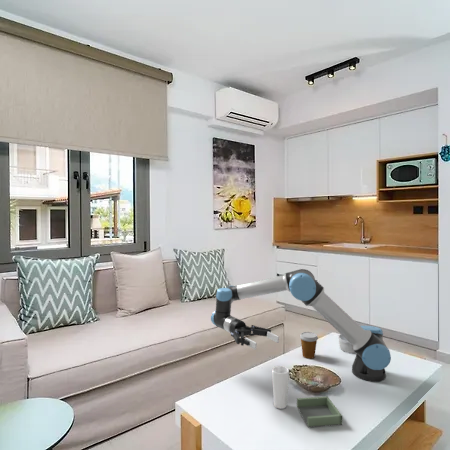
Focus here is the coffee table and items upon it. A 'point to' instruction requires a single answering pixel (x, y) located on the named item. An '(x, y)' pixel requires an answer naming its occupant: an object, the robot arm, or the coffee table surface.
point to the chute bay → (319, 412)
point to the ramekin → (345, 344)
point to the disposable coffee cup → (308, 344)
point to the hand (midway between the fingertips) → (267, 342)
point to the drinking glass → (280, 386)
